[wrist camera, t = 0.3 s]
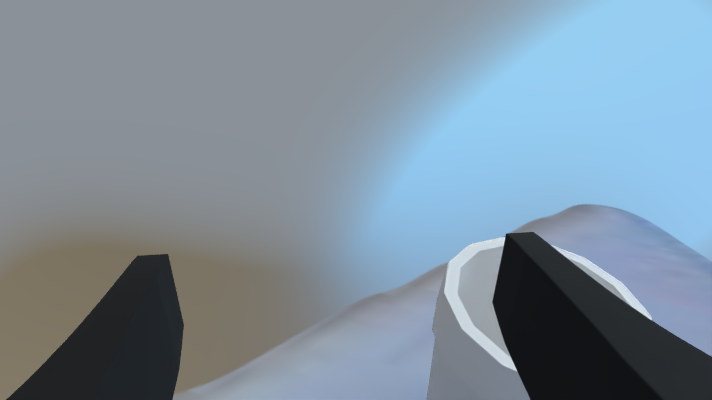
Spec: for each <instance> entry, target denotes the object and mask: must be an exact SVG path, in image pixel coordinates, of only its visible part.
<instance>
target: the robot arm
mask: <svg viewBox="0 0 712 400" xmlns="http://www.w3.org/2000/svg"><path fill="white" fill-rule="evenodd" d="M492 303H493V307H494V310H495V314H496V317H497V320H498V324H499V327H500V330H501V333H502V336H503V339H504V343H505V345H506V347H507V350H508V352H509V354H510V356H511V359H512V361H513V363H514V365H515V367H516V370H517V372H518V374H519V376H520V378H521V380H522V383H523V385H524V387H525V389H526V391H527V393H528V396H529V398H530V400H712V357H711V356H709V355H708V354H706V353H704V352H702V351H701V350H699V349H697V348H696V347H694V346H692V345H691V344H689V343H687V342H686V341H684V340H682V339H680V338H679V337H677V336H675V335H674V334H672V333H671V332H669V331H667V330H666V329H664V328H663V327H661V326H659V325H658V324H656V323H655V322H653V321H652V320H650V319H649V318H648V317H646V316H645V315H643V314H642V313H640V312H639V311H637V310H636V309H634V308H633V307H631V306H630V305H628V304H627V303H626V302H624V301H623V300H622V299H620V298H619V297H617V296H616V295H615V294H613V293H612V292H611V291H609V290H608V289H606V288H605V287H604V286H602V285H601V284H600V283H598V282H597V281H596V280H595V279H593V278H592V277H591V276H589V275H588V274H587V273H585V272H584V271H583V270H582V269H580V268H579V267H578V266H577V265H575V264H574V263H573V262H571V261H570V260H569V259H568V258H566V257H565V256H564V255H563V254H561V253H560V252H559V251H557V250H556V249H555V248H554V247H552V246H551V245H550V244H549V243H547V242H546V241H545V240H543V239H542V238H541V237H539V236H538V235H537V234H535V233H534V232H525V233H509V234H506V237H505V242H504V247H503V252H502V257H501V262H500V266H499V271H498V276H497V281H496V286H495V291H494V296H493V301H492ZM183 327H184V324H183V319H182V315H181V311H180V306H179V301H178V297H177V292H176V288H175V283H174V279H173V274H172V270H171V265H170V261H169V256H168V254H163V255H147V256H146V255H145V256H137V257H136V258H135V259H134V260H133V261H132V262H131V264H130V265H129V266H128V267H127V269H126V270H125V271H124V273H123V274H122V275H121V276H120V278H119V279H118V280H117V281H116V282H115V284H114V285H113V286H112V287H111V288H110V290H109V291H108V292H107V293H106V295H105V296H104V297H103V298H102V299H101V301H100V302H99V303H98V304H97V305H96V307H95V308H94V309H93V310H92V311H91V313H90V314H89V315H88V316H87V317H86V318H85V319H84V320H83V322H82V323H81V324H80V325H79V326H78V328H77V329H76V330H75V331H74V332H73V333H72V334H71V335H70V336H69V337H68V339H67V340H66V341H65V342H64V343H63V344H62V345H61V346H60V347H59V348H58V349H57V350H56V351H55V352H54V353H53V354H52V355H51V357H50V358H49V359H48V360H47V361H46V362H45V363H44V364H43V365H42V366H41V367H40V368H39V369H38V370H37V371H36V372H35V373H34V374H33V375H32V376H31V377H30V378H29V379H28V380H27V381H26V382H25V383H24V384H23V385H22V386H21V387H19V388H18V389H17V390H16V391H15V392H14V393H13V394H12V395H11V396H10V397H9V398H8V399H6V400H172V399H173V394H174V390H175V386H176V381H177V376H178V372H179V366H180V357H181V348H182V337H183Z"/></svg>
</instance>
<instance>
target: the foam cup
mask: <svg viewBox="0 0 712 400" xmlns="http://www.w3.org/2000/svg"><path fill="white" fill-rule="evenodd" d="M504 242H505V237H502V238H497V239H492V240H487V241H482V242H478V243H473V244H469V245H468V246H467V247H466V248H465V249H464V250H462V251H461V252H460V253H459V254H458V255H457V256H456V257H454V258H453V259H452V260H451V261H450V262H449V263H448V265H447V268H446V272H445V275H444V278H443V281H442V285H441V288H440V291H439V294H438V297H437V302H436V309H435V315H434V321H433V328H432V330H433V333H434V335H435V344H434V351H433V358H432V365H431V372H430V379H429V386H428V393H427V400H530V398H529V396H528V393H527V391H526V389H525V387H524V385H523V383H522V380H521V378H520V376H519V374H518V372H517V370H516V367H515V365H514V363H513V361H512V359H511V356H510V354H509V352H508V350H507V347H506V345H505V343H504V339H503V336H502V333H501V330H500V327H499V324H498V320H497V317H496V314H495V310H494V307H493V303H492V301H493V296H494V291H495V286H496V281H497V276H498V271H499V266H500V262H501V257H502V252H503V247H504ZM551 246H552V245H551ZM552 247H554V248H555V249H556V250H557V251H559V252H560V253H561V254H563V255H564V256H565V257H566V258H568V259H569V260H570V261H571V262H573V263H574V264H575V265H577V266H578V267H579V268H580V269H582V270H583V271H584V272H585V273H587V274H588V275H589V276H591V277H592V278H593V279H595V280H596V281H597V282H598V283H600V284H601V285H602V286H604V287H605V288H606V289H608V290H609V291H611V292H612V293H613V294H615V295H616V296H617V297H619V298H620V299H622V300H623V301H624V302H626V303H627V304H628V305H630V306H631V307H633V308H634V309H636V310H637V311H639V312H640V313H642V314H643V315H645V316H646V317H648V318H649V319H650V320H652V318H651V315H650V314H649V313H648V312H647V311H646V309H645V308H644V307H643V306H642V305H641V304H640V303H639V301H638V300H637V299H636V298H635V297H634V296H633V294H632V293H631V292H630V291H629V290H628V289H627V288H626V286H625V285H624V284H623V283H622V282H620V281H619V280H617V279H616V278H614V277H613V276H611V275H610V274H608V273H607V272H605V271H604V270H602V269H601V268H599V267H598V266H596V265H595V264H593V263H592V262H590V261H589V260H587V259H586V258H584V257H581V256H579V255H576V254H573V253H571V252H568V251H565V250H563V249H560V248H558V247H555V246H552Z"/></svg>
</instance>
